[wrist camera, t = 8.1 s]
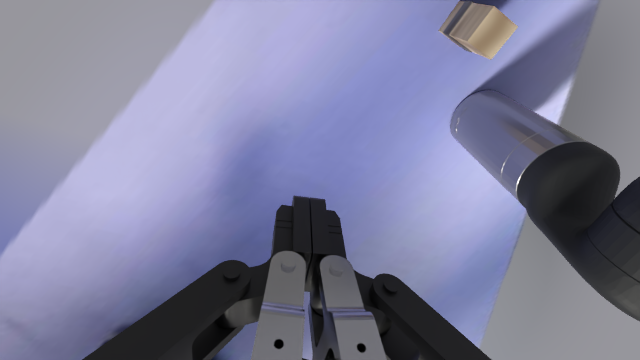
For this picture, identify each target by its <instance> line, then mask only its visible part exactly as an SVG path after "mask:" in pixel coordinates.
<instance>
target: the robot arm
mask: <svg viewBox="0 0 640 360" xmlns="http://www.w3.org/2000/svg"><path fill="white" fill-rule="evenodd" d="M450 128H451V133H452V135H453V137H454V138H455V139H456V141H458V142H459V143H460V144H461V145H462V146H463V147H464V148H465V149H466V150H467V151H468V152H469V153H470V154H471V155H472V156H473V157H474V158H475V159H476V160H477V161H478V162H479V163H480V164H481V165H482V166H483V167H484V168H485V169H486V170H487V171H488V172H489V173H490V174H491V175H492V176H493V177H494V178H495V179H496V180H497V181H498V182H499V183H500V184H501V185H502V186H503V187H504V188H505V189H506V190H508V191H509V192H510V193H511V194H512V195H513V196H514V197H515V198H516V199H517V200H518V201H519V202H520V203H521V204H522V205H523V206H524V207H525V208H526V210H527V213H528V215H529V217H530V219H531V220H532V221H533V222H534V224H535V225H536V226H537V227H538V228H539V229H540V230H541V231H542V232H543V234H545V236H546V237H547V238H548V239H549V240H550V241H551V242H552V244H553V245H554V246H555V247H556V248H557V249H558V250H559V252H560V253H561V254H562V255H563V256H564V257H565V258H566V260H567V261H568V262H569V263H570V264H571V266H572V267H573V268H574V269H575V270H576V271H577V272H578V273H579V274H580V275H581V276H582V278H584V279H585V281H586V282H587V283H589V284H590V285H591V286H592V287H593V288H594V289H595V290H596V291H597V292H598V293H599V294H600V295H601V296H603V297H604V298H605V299H606V300H608V301H609V302H610V303H612V304H613V305H615V306H616V307H617V308H618V309H620V310H621V311H623V312H624V313H626V314H627V315H629V316H631V317H633V318H635V319H636V320H638V321H640V177H638V178H637V179H636V180H634V181H633V182H632V183H631V184H630V185H628V186H627V187H626V188H625V189H624V190H623V191H622V192H621V193H620V194H619V195H618V196H617V197H616V198H615V194H616V191H617V188H618V185H619V181H620V169H619V165H618V163H617V161H616V160H615V159H614V158H613V157H612V156H611V155H610V154H608V153H607V152H606V151H604V150H602V149H600V148H599V147H597V146H595V145H593V144H591V143H589V142H588V141H586V140H584V139H582V138H580V137H579V136H577V135H575V134H573V133H571V132H569V131H567V130H566V129H564V128H562V127H560V126H559V125H557V124H555V123H553V122H551V121H550V120H548V119H546V118H544V117H542V116H541V115H539V114H537V113H535V112H533V111H532V110H530V109H528V108H526V107H524V106H523V105H521V104H519V103H517V102H516V101H514V100H512V99H510V98H508V97H507V96H505V95H503V94H501V93H499V92H497V91H493V90H484V91H480V92H477V93H474V94H472V95H470V96H469V97H467V98H466V99H465V100H464V101H463V102H461V103H460V105H459V106H458V107H457V108H456V110H455V112H454V114H453V116H452V119H451V125H450ZM614 198H615V199H614ZM304 291H307V292H310V301H309V305H308V313H309V323H310V332H311V341H312V350H313V359H312V360H491V359H490V358H489V357H488V356H487V355H485V354H484V353H483V352H482V351H481V350H480V349H479V348H477V347H476V346H475V345H474V344H473V343H472V342H471V341H469V340H468V339H467V338H466V337H465V336H464V335H463V334H461V333H460V332H459V331H458V330H457V329H456V328H455V327H453V326H452V325H451V324H450V323H449V322H448V321H447V320H445V319H444V318H443V317H442V316H441V315H440V314H439V313H437V312H436V311H435V310H434V309H433V308H432V307H431V306H429V305H428V304H427V303H426V302H425V301H424V300H423V299H421V298H420V297H419V296H418V295H417V294H416V293H415V292H413V291H412V290H411V289H410V288H409V287H408V286H407V285H405V284H404V283H403V282H402V281H401V280H400V279H398V278H397V277H395V276H393V275H390V274H379V275H377V276H376V277H375V278H374V279H372V278H370V277H367V276H364V275H362V274H359V273H358V272H356V271H355V270H354V269H353V267H352V265H351V263H350V262H349V261H348V260H347V258H346V252H345V246H344V240H343V235H342V228H341V223H340V218H339V217H338V215H337V214H336V212H335V211H331V210H326V203H325V199H319V198H309V197H301V196H293V201H292V206H287V205H281V206H280V208H279V209H278V210H277V212H276V219H275V225H274V232H273V241H272V251H271V258H270V259H269V260H268V261H267V262H266V263H264V264H262V265H259V266H255V267H250V268H249V267H248V266H247V265H246V264H245V263H243V262H241V261H237V260H228V261H224V262H222V263H220V264H218V265H217V266H216V267H214V268H213V269H211V270H210V271H208V272H207V273H206V274H204V275H203V276H201V277H200V278H198V279H197V280H196V281H194V282H193V283H191V284H190V285H188V286H187V287H185V288H184V289H183V290H181V291H180V292H178V293H177V294H175V295H174V296H173V297H171V298H170V299H168V300H167V301H165V302H164V303H163V304H161V305H160V306H158V307H157V308H155V309H154V310H153V311H151V312H150V313H148V314H147V315H145V316H144V317H143V318H141V319H140V320H138V321H137V322H135V323H134V324H133V325H131V326H130V327H128V328H127V329H125V330H124V331H123V332H121V333H120V334H118V335H117V336H115V337H114V338H112V339H111V340H110V341H108V342H107V343H105V344H104V345H102V346H101V347H100V348H98V349H97V350H95V351H94V352H92V353H91V354H90V355H88V356H87V357H85V358H84V359H82V360H211V359H212V358H213V357H214V356H215V355H216V354H217V353H218V352H219V351H220V350H221V349H222V348H223V347H224V346H225V345H226V344H227V343H228V342H229V341H230V340H231V339H232V338H233V337H235V336H236V335H237V334H238V333H239V332H240V331H241V330H242V329H243V327H244V326H245V325H246V324H250V323H254V322H257V321H258V327H257V332H256V337H255V342H254V347H253V352H252V357H251V360H307V359H304V358H302V351H303V335H304V319H305V311H304V310H303V302H304Z"/></svg>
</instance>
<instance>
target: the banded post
mask: <svg viewBox="0 0 640 360" xmlns="http://www.w3.org/2000/svg"><path fill="white" fill-rule="evenodd" d="M517 28H518V26H517V25H515V24H514V23H513V22H512V21H511V20H510V19H508V18H507V17H506V16H505V15H504V14H503V13H502V12H500V11H499V10H498V9H497V8H496V7H495V6H490V5H484V4H477V3H474V2H472V1H465V2H464V1H459V2H458V4H457V5H456V6H455V8H454V9H453V11H452V12H451V14H450V15H449V16H448V18H447V19H446V21H445V22H444V23H443V25H442V26H441V28H440V29H439V30H438V31H439V32H441V33H442V34H443V35H445V36H446V37H447V38H449V39H450V40H451V41H453V42H454V43H455V44H457V45H458V46H459V47H462V48H463V49H464V50H466V51H469V52H474V53H476V54H478V55H481V56H483V57H486V58H488V59H490V60H491V59H492V58H493V57H494V56H495V54H496V53H497V52H498V51H499V49H500V48H501V47H502V46H503V45H504V43H505V42H506V41H507V40H508V39H509V37H510V36H511V35H512V34H513V32H514V31H515V30H516V29H517Z"/></svg>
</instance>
